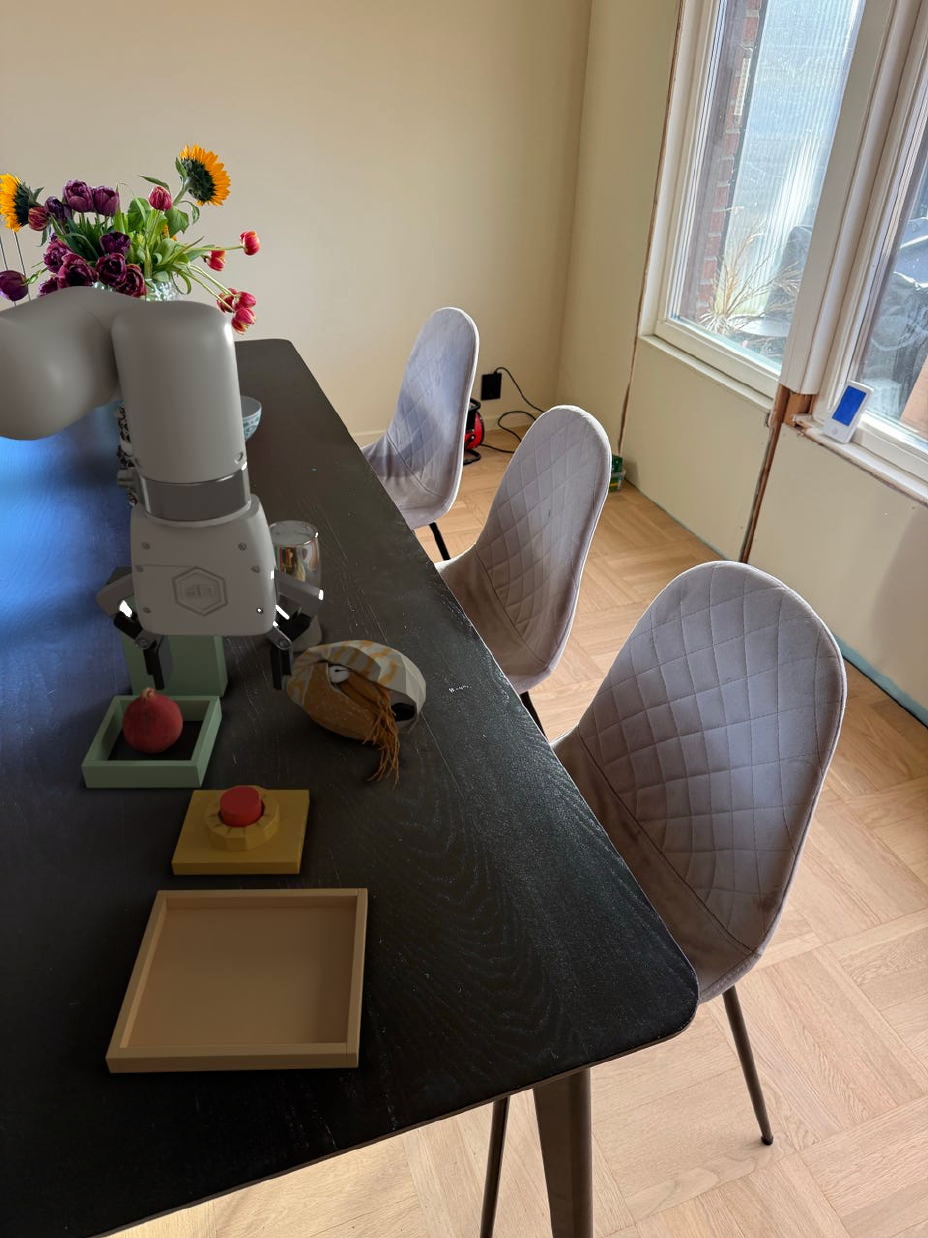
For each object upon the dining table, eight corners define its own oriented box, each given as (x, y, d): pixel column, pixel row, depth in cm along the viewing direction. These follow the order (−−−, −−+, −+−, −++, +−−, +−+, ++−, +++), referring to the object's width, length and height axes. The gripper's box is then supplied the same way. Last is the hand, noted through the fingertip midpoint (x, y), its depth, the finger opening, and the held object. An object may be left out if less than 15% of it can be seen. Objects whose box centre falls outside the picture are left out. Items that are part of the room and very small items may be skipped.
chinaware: (167, 444, 159) (160, 404, 155) (238, 427, 168) (234, 388, 164) (207, 469, 150) (201, 427, 146) (280, 450, 159) (277, 410, 155)
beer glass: (324, 622, 111) (318, 518, 103) (326, 652, 105) (320, 545, 97) (269, 625, 110) (259, 520, 102) (268, 656, 104) (257, 548, 96)
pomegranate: (181, 769, 87) (169, 708, 83) (122, 770, 87) (108, 709, 82) (191, 732, 92) (181, 672, 88) (136, 733, 92) (123, 673, 87)
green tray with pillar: (86, 788, 84) (52, 664, 76) (136, 680, 99) (112, 566, 91) (200, 788, 85) (179, 665, 77) (233, 680, 100) (218, 567, 92)
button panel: (174, 875, 76) (168, 848, 74) (196, 802, 84) (191, 776, 82) (298, 874, 77) (296, 847, 75) (309, 802, 84) (307, 776, 82)
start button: (218, 828, 77) (215, 814, 76) (225, 799, 80) (223, 785, 79) (258, 828, 77) (256, 814, 76) (264, 799, 80) (263, 785, 79)
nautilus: (450, 794, 87) (301, 819, 84) (413, 661, 103) (287, 679, 101) (450, 738, 82) (291, 763, 79) (410, 608, 98) (279, 625, 96)
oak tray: (110, 1074, 61) (105, 1058, 60) (161, 905, 73) (157, 890, 72) (357, 1068, 62) (356, 1053, 61) (367, 903, 74) (367, 888, 73)
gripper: (51, 508, 57) (101, 709, 67) (312, 511, 58) (325, 709, 68) (87, 464, 63) (128, 653, 73) (322, 468, 65) (333, 654, 74)
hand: (223, 679), depth 70 cm, fingers open, 9 cm apart
